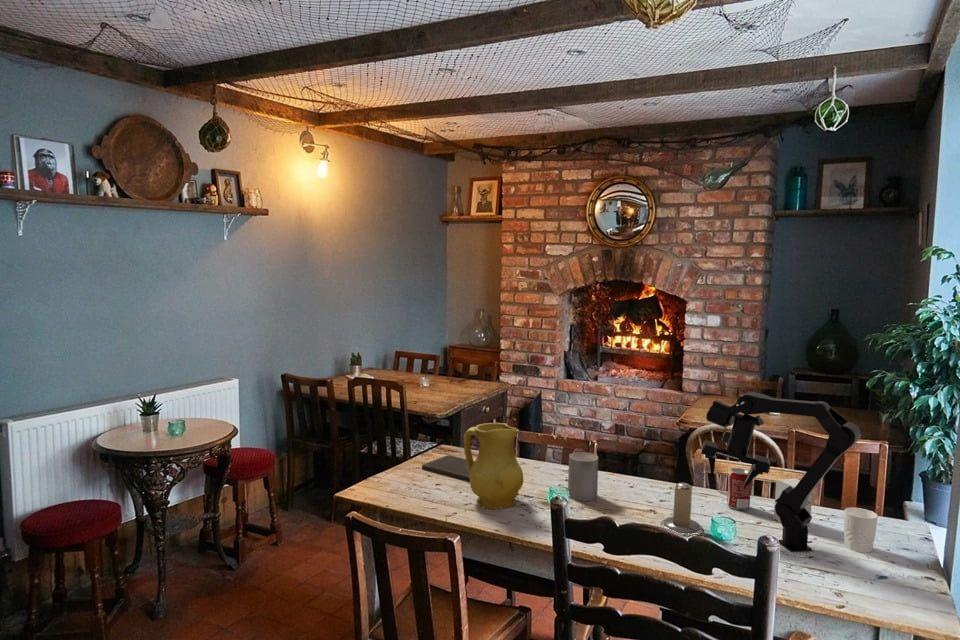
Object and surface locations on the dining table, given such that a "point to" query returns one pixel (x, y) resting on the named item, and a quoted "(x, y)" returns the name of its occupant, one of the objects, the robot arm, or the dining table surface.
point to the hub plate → (692, 528)
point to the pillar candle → (583, 476)
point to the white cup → (859, 529)
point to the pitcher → (494, 465)
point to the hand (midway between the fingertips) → (727, 482)
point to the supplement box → (786, 483)
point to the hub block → (682, 505)
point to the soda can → (738, 489)
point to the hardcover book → (449, 467)
